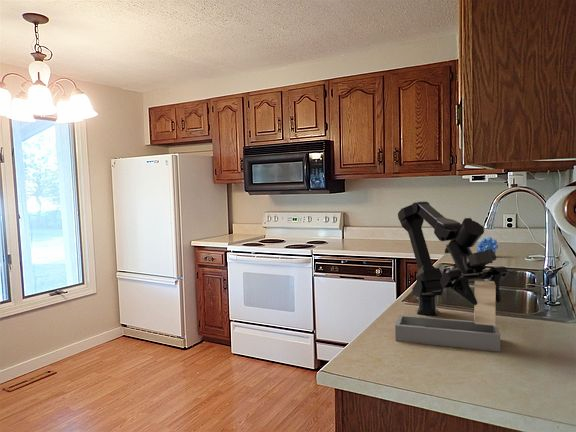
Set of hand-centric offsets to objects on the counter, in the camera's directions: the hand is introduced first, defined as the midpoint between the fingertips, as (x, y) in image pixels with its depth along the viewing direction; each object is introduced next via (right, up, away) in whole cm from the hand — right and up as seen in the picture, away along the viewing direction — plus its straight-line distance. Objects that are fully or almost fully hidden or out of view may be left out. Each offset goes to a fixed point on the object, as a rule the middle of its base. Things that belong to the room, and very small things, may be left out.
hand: (487, 303), depth 113 cm
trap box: (-9, -12, +6) cm, 16 cm away
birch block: (0, -5, +2) cm, 6 cm away
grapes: (+65, -1, +134) cm, 149 cm away
